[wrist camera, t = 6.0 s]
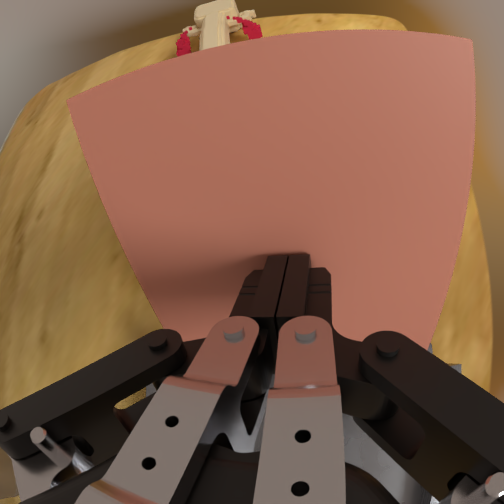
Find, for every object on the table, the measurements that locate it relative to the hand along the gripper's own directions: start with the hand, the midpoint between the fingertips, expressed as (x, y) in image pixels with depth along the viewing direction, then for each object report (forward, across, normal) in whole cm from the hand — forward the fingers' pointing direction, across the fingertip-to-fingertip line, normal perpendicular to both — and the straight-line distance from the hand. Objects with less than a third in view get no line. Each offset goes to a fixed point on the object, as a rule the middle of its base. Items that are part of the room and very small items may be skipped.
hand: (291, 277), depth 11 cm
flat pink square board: (+2, 0, +6) cm, 6 cm away
